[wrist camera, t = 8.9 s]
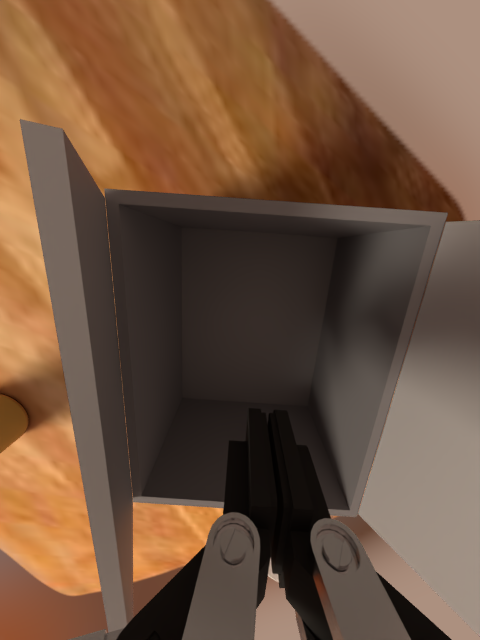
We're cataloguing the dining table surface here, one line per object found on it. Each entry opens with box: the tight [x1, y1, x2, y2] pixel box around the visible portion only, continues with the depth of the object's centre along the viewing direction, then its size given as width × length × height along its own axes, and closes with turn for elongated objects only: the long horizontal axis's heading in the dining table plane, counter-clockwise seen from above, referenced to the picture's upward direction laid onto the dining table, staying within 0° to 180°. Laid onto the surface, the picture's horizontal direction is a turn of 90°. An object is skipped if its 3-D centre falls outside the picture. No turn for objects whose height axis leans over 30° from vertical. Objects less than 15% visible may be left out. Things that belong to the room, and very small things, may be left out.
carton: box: [105, 189, 448, 517], centre depth 19 cm, size 20×16×12 cm
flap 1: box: [20, 119, 133, 632], centre depth 10 cm, size 8×19×1 cm
